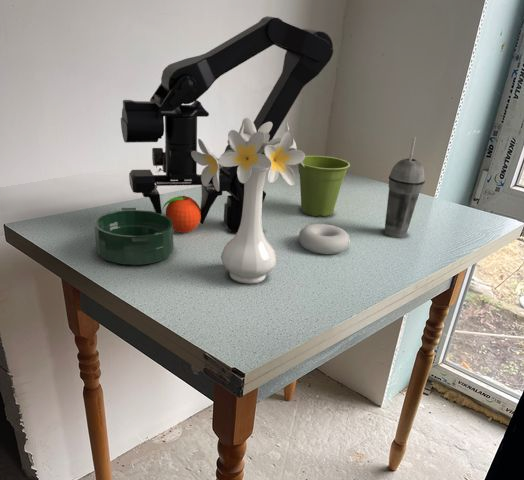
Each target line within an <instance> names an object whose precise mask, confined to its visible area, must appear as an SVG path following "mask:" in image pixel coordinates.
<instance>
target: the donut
mask: <svg viewBox="0 0 524 480" xmlns="http://www.w3.org/2000/svg"><path fill="white" fill-rule="evenodd" d="M350 238H351V237H350V236H349V234H348V233H347V231H345V230H344V229H342V228H341V227H338V226H336V225H331V224H326V223H314V224H309V225H306V226H305V227H303V228H301V230H300V231H299V234H298V241H299V243H300V245H301V246H302V247H303V248H304V249H306V250H308V251H310V252H313V253H315V254H322V255H334V254H339V253H342V252H344V251H345V250H347V248H348V247H349V245H350V240H351V239H350Z"/></svg>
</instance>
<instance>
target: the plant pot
mask: <svg viewBox="0 0 524 480" xmlns="http://www.w3.org/2000/svg"><path fill="white" fill-rule="evenodd" d="M303 164H304V167H303V166H302V165H301V164H300V163H299V164H297V166H298V167H297V168H298V174H299V187H300V208H301V211H302V213H304V214H306V215H310V216H312V217H318V216H322V217H329V216H331V215H333V213H334V211H335V208H336V203H337V201H338V197H339V193H340V191H341V187H342V184H343V181H344V178H346V173H347V171H348V169H349V168H350V167H351V163H350V162H349V161H347V160H345V159H341V158H338V157H332V156H325V155H305V158H304V160H303Z"/></svg>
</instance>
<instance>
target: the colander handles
mask: <svg viewBox="0 0 524 480" xmlns="http://www.w3.org/2000/svg"><path fill="white" fill-rule="evenodd" d="M121 210H137V208H136V207H121ZM131 242H132V245H149V241H148V238H147V237H139V238H131Z"/></svg>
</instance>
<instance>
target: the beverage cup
mask: <svg viewBox="0 0 524 480" xmlns="http://www.w3.org/2000/svg"><path fill="white" fill-rule="evenodd" d="M416 139H417V136H415V135H414V136H413V137H412V141H411V147H410V151H409V157H408V158H403V159H400V160H398V161H397V162H396V163H395V164H394V165H393V166H392V168H391V171H390V173H389V176H388V196H387V205H386V211H385V212H386V213H385V222H384V234H385V235H386V236H389V237H392V238H405V237H406V236H407V232H408V230H409V229H410V228H409V227H410V225H411V221H412V218H413V215H414V212H415V208H416V205H417V202H418V199H419V196H420V193H421V192H422V188H423V187H424V184H425V177H426V172H425V169H424V166H423V164H422V163H421V162H420V161H418V159H414V158H413V154H414V149H415V144H416Z"/></svg>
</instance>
